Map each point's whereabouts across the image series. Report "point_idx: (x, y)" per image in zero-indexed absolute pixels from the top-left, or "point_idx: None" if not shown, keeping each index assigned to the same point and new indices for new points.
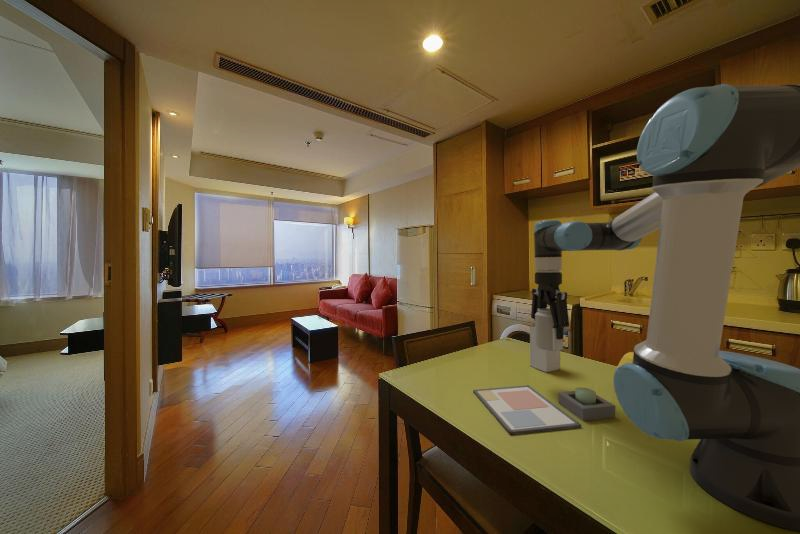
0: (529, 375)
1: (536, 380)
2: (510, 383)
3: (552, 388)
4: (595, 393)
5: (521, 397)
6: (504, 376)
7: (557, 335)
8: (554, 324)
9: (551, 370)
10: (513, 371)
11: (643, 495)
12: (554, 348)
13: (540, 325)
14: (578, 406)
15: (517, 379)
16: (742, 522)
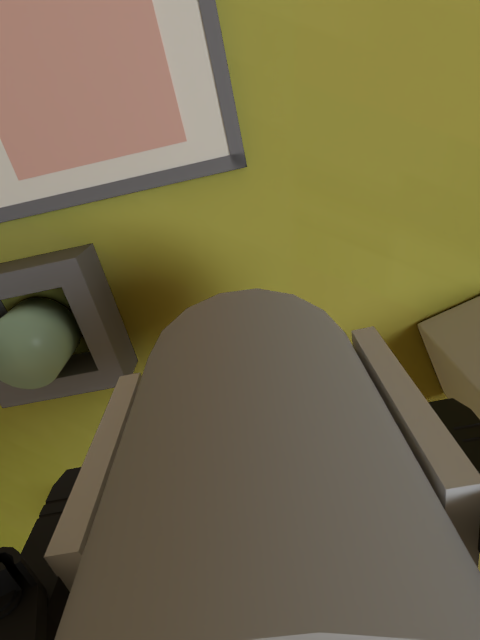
0: (398, 228)
1: (332, 240)
2: (301, 73)
3: (240, 278)
4: (8, 383)
5: (88, 66)
6: (406, 66)
7: (67, 497)
8: (29, 615)
9: (428, 351)
10: (470, 154)
11: None
12: (116, 385)
13: (162, 459)
14: None
15: (353, 139)
16: None
